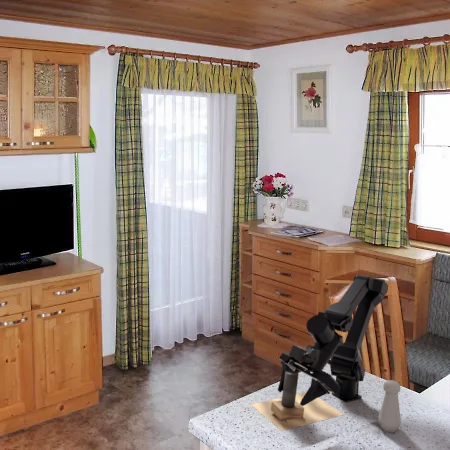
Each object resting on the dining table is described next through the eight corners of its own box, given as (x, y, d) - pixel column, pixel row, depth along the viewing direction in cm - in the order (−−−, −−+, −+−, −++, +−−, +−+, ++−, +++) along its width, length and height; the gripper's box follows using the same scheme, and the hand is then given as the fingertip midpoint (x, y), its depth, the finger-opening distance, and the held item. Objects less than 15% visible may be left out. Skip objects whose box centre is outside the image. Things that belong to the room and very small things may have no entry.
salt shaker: (401, 435, 151) (404, 388, 149) (378, 432, 152) (381, 385, 150) (399, 424, 157) (402, 378, 155) (377, 421, 158) (380, 376, 156)
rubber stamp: (292, 407, 162) (297, 368, 160) (303, 416, 157) (308, 376, 155) (270, 410, 159) (275, 370, 157) (280, 419, 154) (285, 378, 152)
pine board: (309, 395, 173) (309, 391, 172) (343, 419, 159) (343, 414, 158) (250, 409, 163) (250, 404, 163) (281, 436, 149) (281, 430, 149)
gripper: (285, 323, 161) (251, 369, 157) (332, 345, 146) (296, 396, 142) (305, 345, 167) (274, 390, 163) (353, 368, 151) (319, 418, 147)
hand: (289, 398), depth 153 cm, fingers open, 9 cm apart
